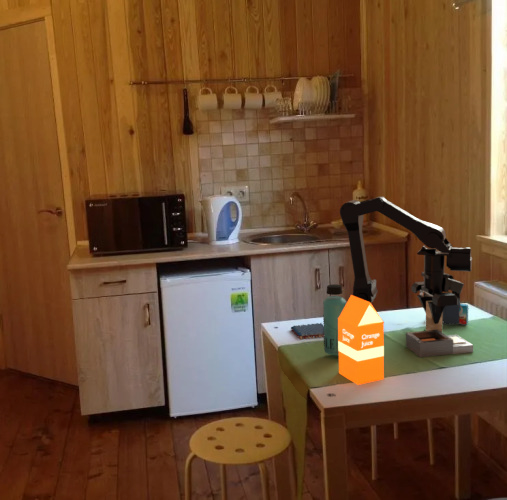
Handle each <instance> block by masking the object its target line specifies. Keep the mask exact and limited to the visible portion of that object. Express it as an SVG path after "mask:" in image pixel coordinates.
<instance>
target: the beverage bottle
mask: <svg viewBox="0 0 507 500" xmlns="http://www.w3.org/2000/svg"><path fill="white" fill-rule="evenodd" d="M326 294H327V295H331V296H327V297H326V298H324V300H323V301H322V305H323V316H322V317H323V318H322V319H323V323H322V324H323V326H324V330H323V332H324V335H323V336H324V337H323V350H324V352H325V354H327V355H330V356H339V351H338V318H339V316H340V315H341V313H342V311H343V309H344V307H345V305H346V304H347V300H346V299H345V298H344V297H342V296H339V295H341V294H343V287H342V285H341V284H336V283H335V284H334V283H333V284H328V285H327V286H326Z"/></svg>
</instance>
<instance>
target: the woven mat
mask: <svg viewBox="0 0 507 500" xmlns="http://www.w3.org/2000/svg"><path fill="white" fill-rule="evenodd" d="M290 330H291V332H293V333H294V335H296V337H297V338H298V339H299V340H307V339H309V340H310V339H314V338H315V339H318V338H324V336H323V335H324V332H323V330H324V324H323V323H322V322H320V323H318V322H316V323H310V324H308V323H307V324H300V325H299V324H298V325H293V326H290Z"/></svg>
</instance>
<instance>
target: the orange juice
mask: <svg viewBox="0 0 507 500" xmlns="http://www.w3.org/2000/svg"><path fill="white" fill-rule="evenodd" d="M384 323H385V322H384V321H383V319H382V318H381V316H380V314H379V313H378V312H377V310H376V309H375V307H374V306H373V304H372V302H371V303H370V302H368V301H365V300H363V299H360V298H358V297H355V296H353V294H350V297H348V300H347V301H346V305H345V307H344V309H343V311H342V313H341V315H340V316H339V318H338V351H339V355H338V373H339V374H340V375H341V376H343V377H344V378H346V379H347V380H349V381H351V382H353V383H354V384H356V385H357V386H360V385H364V384H368V383H372V382H377V381H381V380H385V373H384V372H385V370H384V368H385V367H384V366H385V365H384V364H385V363H384V360H385V358H384V357H385V342H384V337H385V336H384V335H385V333H384V331H385V329H384V327H385V326H384V325H385V324H384Z"/></svg>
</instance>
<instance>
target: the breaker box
mask: <svg viewBox="0 0 507 500" xmlns="http://www.w3.org/2000/svg"><path fill="white" fill-rule="evenodd" d="M432 338H434V339H436V340H430V341H421V340H422V339H432ZM405 347H406V348H408V349H409V350H410V351H411V352H413V354H415V355H416V356H417V357H419V358H428V357H429V358H430V357H437V356H446V355H457V354H466V353H467V354H468V353H474V344H472V343H471V342H470V341H468V340H466V339H464V338H463V337H461V336H459V335H458V334H449V335H447V334H445V333H443V331H442V332H440V331H439V330H428V331H426V330H420V331H410V332H407V331H406V333H405Z"/></svg>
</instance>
